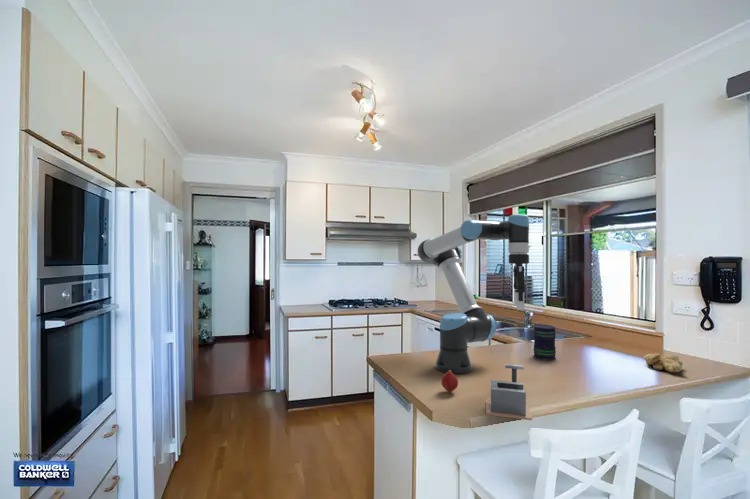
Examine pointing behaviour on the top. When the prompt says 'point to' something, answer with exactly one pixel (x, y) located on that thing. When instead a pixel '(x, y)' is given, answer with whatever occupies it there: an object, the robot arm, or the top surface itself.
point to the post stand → (514, 370)
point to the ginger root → (664, 362)
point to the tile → (488, 412)
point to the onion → (449, 381)
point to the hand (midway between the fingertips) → (518, 307)
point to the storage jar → (544, 342)
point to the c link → (508, 398)
